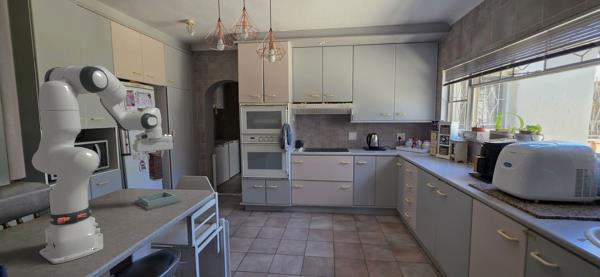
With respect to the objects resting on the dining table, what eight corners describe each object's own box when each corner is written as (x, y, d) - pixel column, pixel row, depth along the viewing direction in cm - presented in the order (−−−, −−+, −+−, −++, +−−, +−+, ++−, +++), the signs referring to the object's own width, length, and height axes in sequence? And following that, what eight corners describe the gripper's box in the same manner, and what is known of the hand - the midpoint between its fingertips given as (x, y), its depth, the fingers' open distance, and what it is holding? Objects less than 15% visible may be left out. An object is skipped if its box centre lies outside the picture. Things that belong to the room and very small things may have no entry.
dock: (181, 202, 152) (180, 196, 152) (147, 210, 139) (147, 203, 138) (166, 195, 167) (165, 189, 166) (134, 202, 153) (134, 196, 153)
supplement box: (163, 179, 150) (161, 153, 149) (154, 181, 147) (152, 153, 146) (157, 177, 156) (156, 151, 155) (149, 179, 153) (147, 152, 151)
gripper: (169, 134, 159) (171, 156, 160) (132, 135, 144) (133, 160, 145) (174, 134, 155) (175, 156, 156) (135, 136, 140) (137, 161, 141)
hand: (155, 158), depth 151 cm, fingers closed on supplement box, 5 cm apart
